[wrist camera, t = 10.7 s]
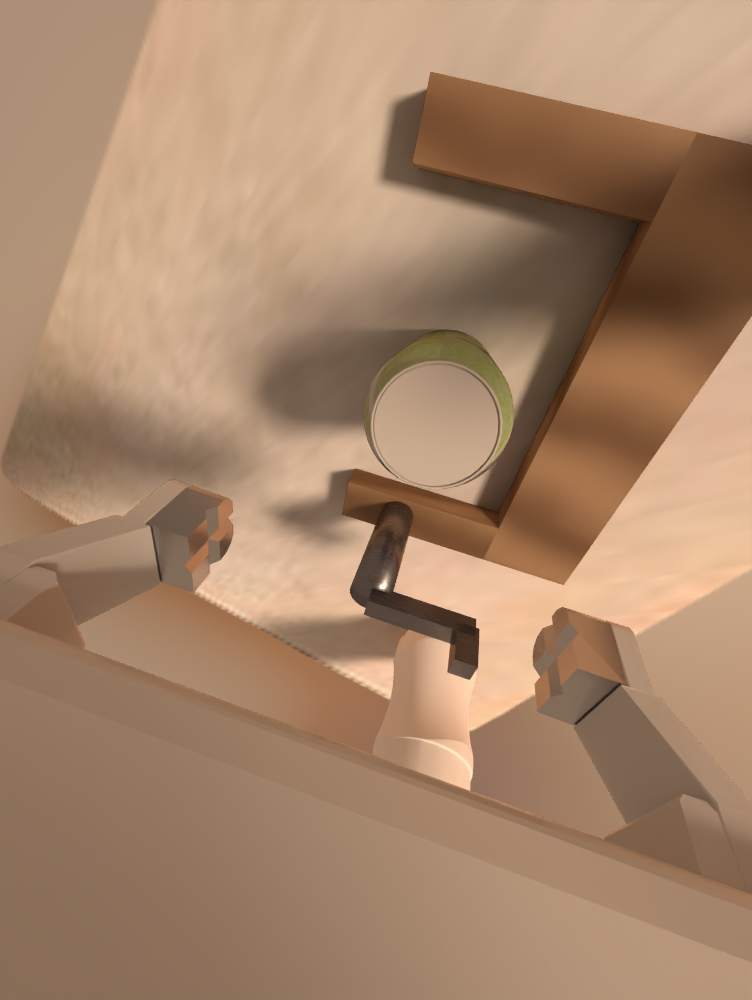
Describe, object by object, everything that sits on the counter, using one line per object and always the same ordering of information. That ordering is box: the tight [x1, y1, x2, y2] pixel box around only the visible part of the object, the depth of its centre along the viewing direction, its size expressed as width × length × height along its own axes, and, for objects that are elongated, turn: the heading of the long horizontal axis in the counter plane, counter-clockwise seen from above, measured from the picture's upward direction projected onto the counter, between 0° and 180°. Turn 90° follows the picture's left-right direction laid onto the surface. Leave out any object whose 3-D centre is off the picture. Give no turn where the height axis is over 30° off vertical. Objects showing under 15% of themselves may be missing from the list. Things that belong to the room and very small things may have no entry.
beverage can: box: [364, 330, 514, 489], centre depth 20 cm, size 6×7×12 cm
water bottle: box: [373, 630, 477, 791], centre depth 29 cm, size 7×7×25 cm
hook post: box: [350, 501, 479, 680], centre depth 26 cm, size 2×7×13 cm, turn 78°
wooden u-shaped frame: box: [342, 72, 752, 585], centre depth 24 cm, size 24×17×2 cm
